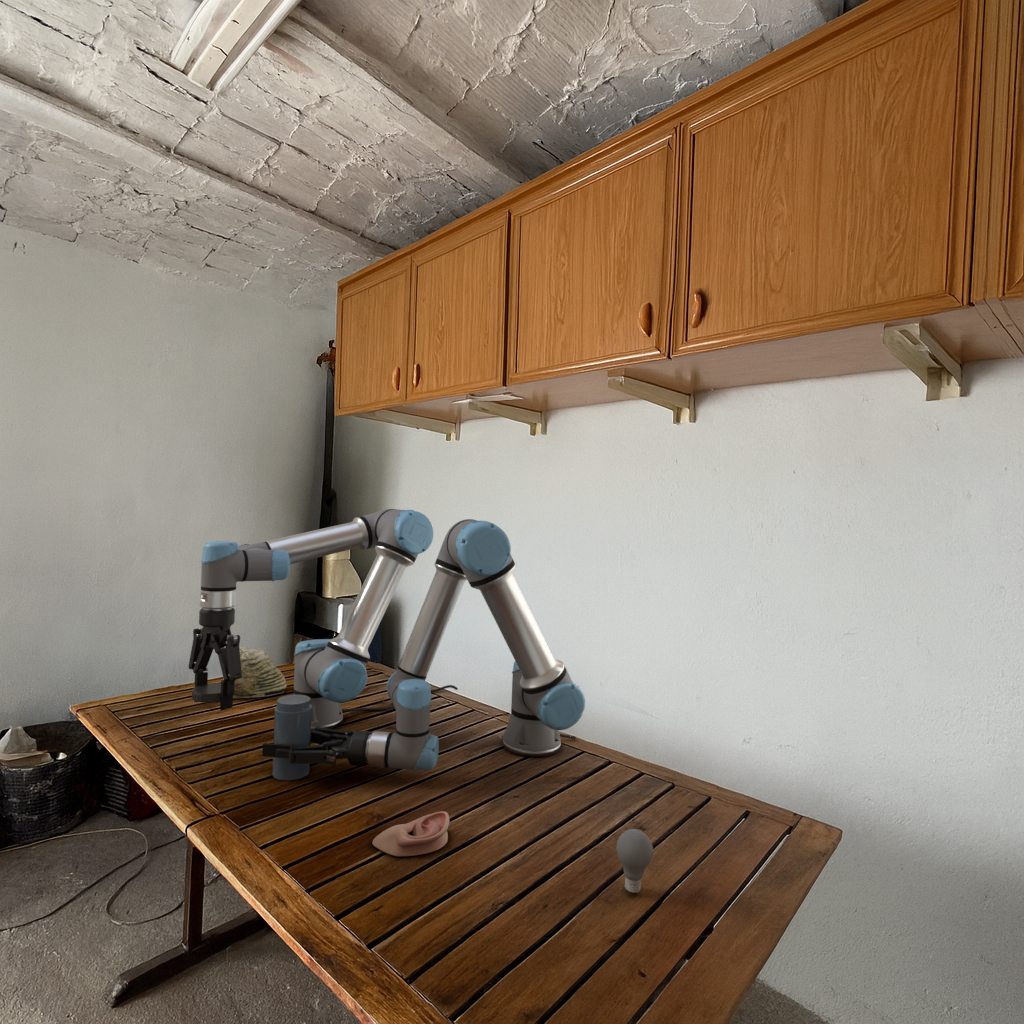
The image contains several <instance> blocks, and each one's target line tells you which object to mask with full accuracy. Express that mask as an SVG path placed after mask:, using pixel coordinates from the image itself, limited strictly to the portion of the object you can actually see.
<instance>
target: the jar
mask: <svg viewBox="0 0 1024 1024" xmlns="http://www.w3.org/2000/svg"><path fill="white" fill-rule="evenodd" d="M276 701H277V702H276V706H275V707H274V713H273V714H274V717H273V718H274V719H273V742H272V744H286V745H291V744H293V747H299V746H310V745H312V744H311V722H312V705H311V704H310V701H311V699H310V697H308V696H306V695H294V694H288V695H283V696H280V697H279V698H277V700H276ZM310 770H311V764H290V758H278V757H272V770H271V771H272V772H271V775H272V777H273V778H274V779H276V780H279V781H294V780H299V779H303V778H304V777H306V776H308V775H309V774H310V772H311V771H310Z"/></svg>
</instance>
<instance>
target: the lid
mask: <svg viewBox="0 0 1024 1024" xmlns="http://www.w3.org/2000/svg"><path fill="white" fill-rule="evenodd" d="M233 696H234V694H233ZM220 698H221V682H211V683H207V684H203V685H200V686H197V687H195V686H194V687H193V688H192V693H191V699H192V700H193V702H194V701H197V702H196V703H205V704H208V703H220Z"/></svg>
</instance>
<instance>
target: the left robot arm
mask: <svg viewBox="0 0 1024 1024" xmlns="http://www.w3.org/2000/svg"><path fill="white" fill-rule="evenodd" d="M433 541H434V528H433V525H432V523H431V521H430V519H429V518H428V517H427V515H425V514H424V513H422V512H420V511H416V510H413V509H398V508H386V509H383V510H379V511H376V512H372V513H368V514H365V515H361V516H356V517H354V518H353V519H352V521H350V522H345V523H341V524H337V525H332V526H327V527H324V528H319V529H314V530H310V531H306V532H300V533H297V534H296V533H295V534H291V535H287V536H282V537H279V538H273V539H269V540H265V541H260V542H256V543H252V544H249V543H242V544H239V543H237V542H236V541H229V540H226V541H225V540H211V541H207V542H204V544H203V546H202V553H201V560H200V563H201V569H200V572H201V573H200V598H199V599H200V600H199V602H200V603H199V606H200V607H201V608H200V610H199V612H198V613H199V616H198V624H199V626H201V627H198V628H193V630H192V635H193V637H192V638H193V639H192V646H191V650H190V655H189V661H188V669H189V670H191V671H193V674H194V682H193V683H194V688H195V687H197V686H200V685H203V684H209V683H208V681H209V679H208V678H209V672H208V670H209V669H208V666H209V665H208V664H209V662H210V660H211V657H212V654H213V652H214V653H215V654H217V657H218V661H219V665H220V669H221V674H222V680H221V681H220V683H221V698H220V702H219V710H220V711H226V710H229V709H232V708H234V707H233V704H234V698H233V694H234V685H235V680H236V679H240V678H242V670H241V659H240V648H239V647H240V644H241V643H240V642H241V636H240V634H237V635H234V634H232V631H231V627H232V626H233V625H234V624H235V621H236V620H235V619H236V609H235V608H234V607H235V606H236V605H237V604H236V603H237V602H236V601H237V582H241V583H243V582H276V581H283V580H286V579H287V578H288V577H289V575H290V571H291V565H293V564H294V565H295V564H297V563H301V562H306V561H310V560H313V559H314V560H315V559H317V558H322V557H325V556H331V555H334V554H337V553H338V554H339V553H341V552H346V551H350V550H355V549H360V550H361V551H364V550H369V549H375V552H376V556H375V558H374V560H373V562H372V565H371V567H370V569H369V571H368V573H367V575H366V577H365V580H364V581H363V583H362V585H361V587H360V590H359V591H358V594H357V595H356V598H355V600H354V601H353V604H352V606H351V608H350V610H349V612H348V615H347V617H346V618H345V620H344V622H343V625H342V627H341V628H340V631H339V633H338V634H337V636H336V637H334V638H323V639H322V638H319V639H307V640H303V641H299V642H297V644H296V645H295V650H294V653H293V654H294V655H293V656H294V672H293V695H306V696H308V697H310V699H311V701H310V704H311V705H312V722H311V730H314V728H315V727H321V728H328V729H335V728H337V727H339V726H340V725H342V723H343V722H344V714H343V713H348V712H349V713H350V712H369V711H370V712H372V711H373V712H375V711H376V712H377V711H386V710H390V709H392V708H394V705H393V704H390V705H387V706H383V707H382V706H381V707H359V708H358V707H356V708H355V707H354V708H342V706H341V704H342V703H343V704H344V703H347V702H350V701H352V700H354V699H356V698H357V697H359V696H360V694H361V693H362V692H363V691H364V689H365V687H366V685H367V682H368V673H367V668H366V667H367V665H368V663H369V660H370V659H371V656H370V653H369V648H370V645H371V643H372V641H373V639H374V636H375V634H376V632H377V630H378V628H379V626H380V623H381V621H382V620H383V618H384V615H385V613H386V611H387V608H388V607H389V604H390V603H391V600H392V598H393V596H394V594H395V592H396V590H397V587H398V585H399V583H400V582H401V580H402V577H403V575H404V573H405V570H406V569H407V568H408V567H411V566H414V564H415V562H416V561H417V558H418V556H419V555H420V554H422V553H424V552H426V551H427V550H428V549H429V548H430V547H431V545H432V543H433ZM228 675H229V676H228ZM223 678H224V680H223ZM449 688H450V689H451V688H452V689H454V690H455V691H457V690H459V688H458V687H457V686H456V685H453V684H447V685H444V686H441V687H439V688H434V689H431V693H437V692H439V691H442V690H445V689H449ZM193 702H194V703H198V702H197V701H194V700H193Z"/></svg>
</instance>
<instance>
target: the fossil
mask: <svg viewBox="0 0 1024 1024" xmlns="http://www.w3.org/2000/svg"><path fill="white" fill-rule="evenodd" d="M239 648H240V659H241V670H242V678H240V679H236V680H235V685H234V696H233V699H250V698H264V697H271V696H275V695H281V694H284V693H285V691H286V689H287V687H288V686H287V680H286V678H285V676H284V674H283V673H282V672H281V669H279V668H278V667H277V665H276V663H275V662H274V660H273V659H272V658H271V657H270V656H269V655H268V654H267V653H266V652H265V650H264V649H263V648H260V647H258V648H251V647H247V646H246V647H245V646H239ZM228 676H229V675H228ZM222 680H224V678H223V677H222Z"/></svg>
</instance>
